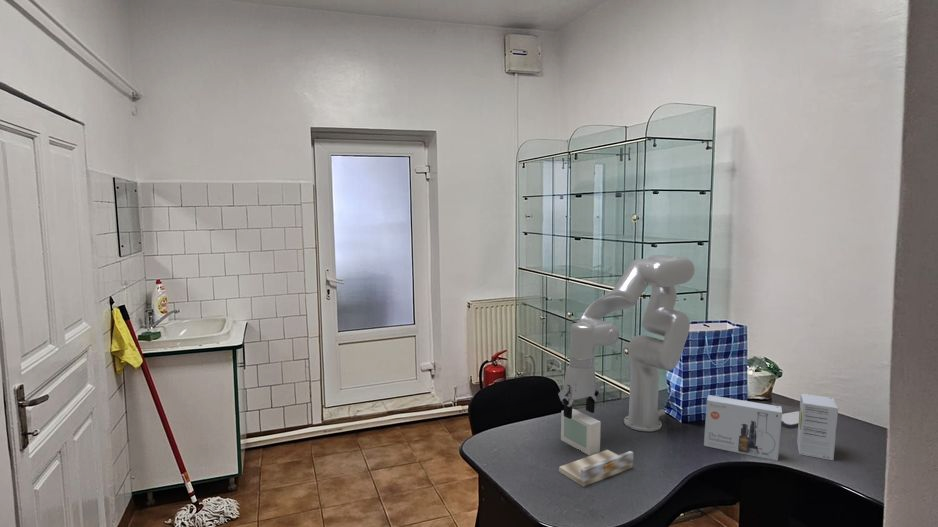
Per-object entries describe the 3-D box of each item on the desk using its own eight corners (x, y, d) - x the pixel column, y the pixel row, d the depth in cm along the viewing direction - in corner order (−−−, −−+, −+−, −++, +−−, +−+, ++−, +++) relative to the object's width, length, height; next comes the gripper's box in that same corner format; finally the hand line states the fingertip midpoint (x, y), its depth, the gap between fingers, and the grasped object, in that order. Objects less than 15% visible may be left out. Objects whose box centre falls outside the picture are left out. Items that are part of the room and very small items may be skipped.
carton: (570, 436, 185) (571, 408, 184) (599, 452, 174) (600, 421, 173) (560, 440, 183) (561, 411, 181) (588, 455, 172) (589, 425, 171)
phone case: (798, 414, 205) (766, 420, 199) (798, 410, 205) (767, 416, 199) (821, 423, 197) (789, 430, 191) (821, 419, 197) (789, 425, 191)
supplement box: (796, 442, 181) (800, 392, 179) (829, 448, 177) (834, 397, 175) (798, 454, 172) (803, 402, 170) (834, 461, 168) (838, 407, 166)
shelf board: (607, 454, 173) (607, 439, 172) (633, 468, 164) (634, 452, 163) (559, 471, 162) (559, 456, 161) (584, 487, 153) (584, 471, 153)
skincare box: (703, 447, 178) (706, 399, 176) (704, 440, 182) (707, 393, 180) (778, 462, 168) (782, 411, 166) (778, 454, 173) (782, 405, 171)
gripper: (592, 355, 183) (590, 405, 185) (552, 362, 173) (550, 415, 175) (609, 361, 176) (606, 413, 178) (569, 369, 167) (566, 423, 169)
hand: (578, 414), depth 177 cm, fingers open, 9 cm apart
